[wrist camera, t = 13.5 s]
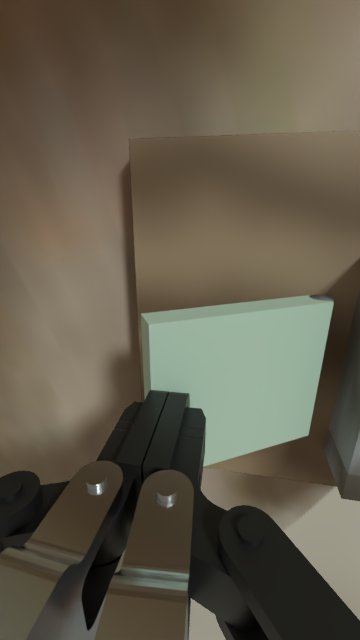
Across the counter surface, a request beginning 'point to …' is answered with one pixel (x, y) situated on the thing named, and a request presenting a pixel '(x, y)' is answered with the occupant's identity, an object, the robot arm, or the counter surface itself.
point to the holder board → (261, 262)
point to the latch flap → (241, 367)
